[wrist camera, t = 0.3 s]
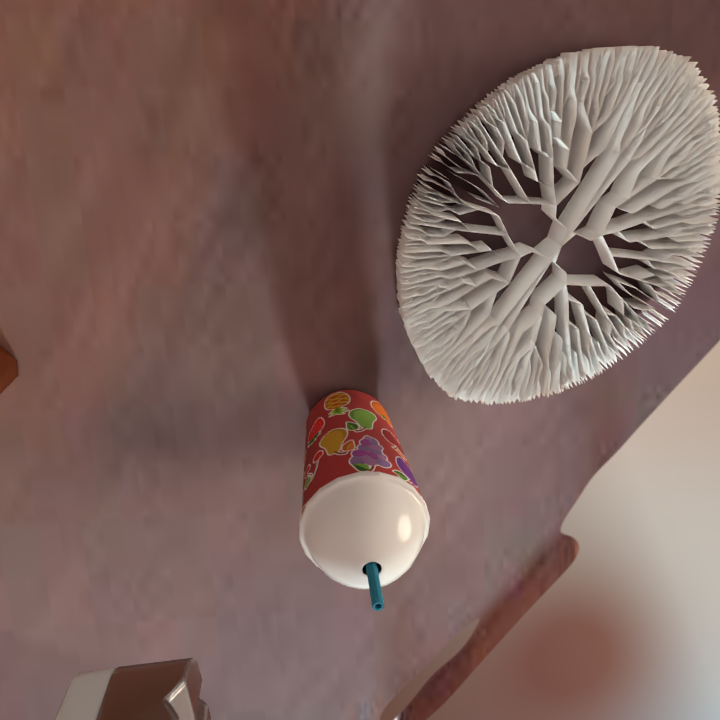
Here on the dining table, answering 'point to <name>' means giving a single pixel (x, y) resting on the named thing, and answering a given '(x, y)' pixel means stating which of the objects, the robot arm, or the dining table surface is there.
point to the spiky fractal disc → (561, 220)
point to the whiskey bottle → (7, 369)
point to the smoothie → (359, 495)
